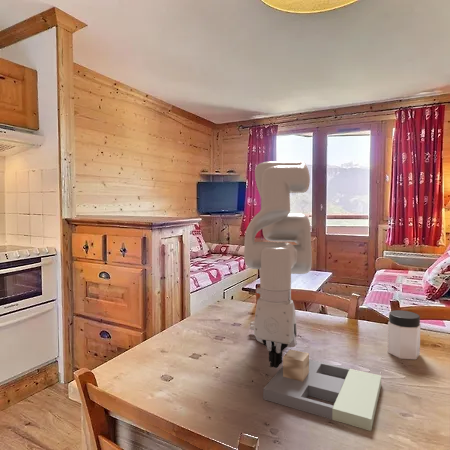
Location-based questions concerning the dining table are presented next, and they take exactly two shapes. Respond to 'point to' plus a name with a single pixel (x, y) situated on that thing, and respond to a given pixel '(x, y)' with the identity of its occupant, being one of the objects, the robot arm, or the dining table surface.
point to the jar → (404, 334)
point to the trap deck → (329, 393)
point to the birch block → (296, 365)
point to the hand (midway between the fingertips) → (275, 365)
